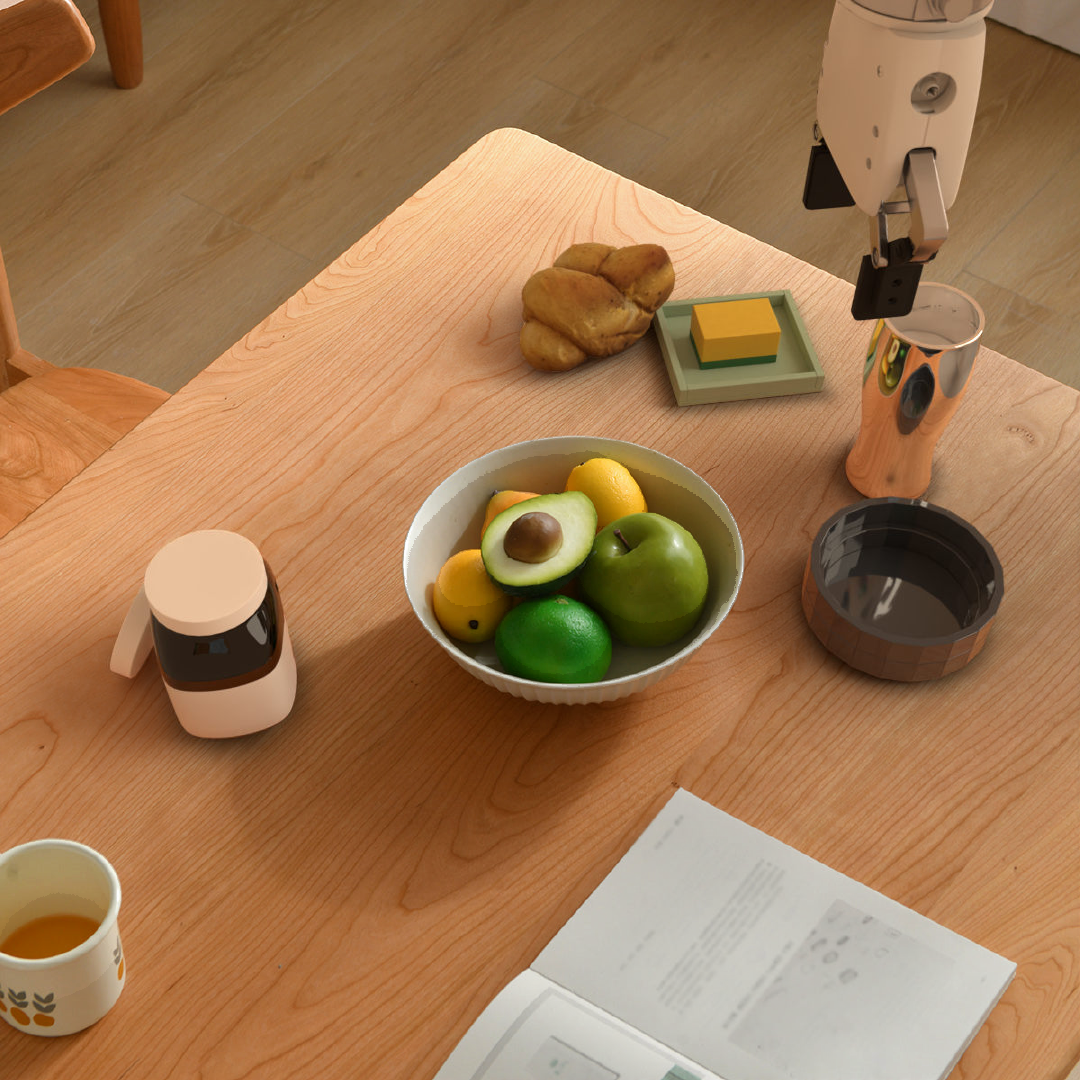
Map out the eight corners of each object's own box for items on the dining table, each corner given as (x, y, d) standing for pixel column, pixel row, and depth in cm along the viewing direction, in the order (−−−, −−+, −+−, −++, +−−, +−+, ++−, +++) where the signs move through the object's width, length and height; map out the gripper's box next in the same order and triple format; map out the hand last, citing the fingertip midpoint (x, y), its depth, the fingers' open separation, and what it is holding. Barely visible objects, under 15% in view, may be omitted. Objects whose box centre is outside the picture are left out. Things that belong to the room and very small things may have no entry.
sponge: (762, 328, 107) (768, 297, 105) (776, 362, 105) (781, 331, 102) (689, 336, 107) (692, 304, 104) (700, 370, 104) (704, 339, 102)
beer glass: (830, 495, 97) (869, 336, 85) (848, 429, 101) (887, 269, 89) (928, 519, 95) (981, 360, 84) (942, 451, 100) (994, 291, 88)
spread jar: (306, 744, 84) (278, 633, 75) (119, 776, 82) (68, 667, 73) (290, 592, 91) (262, 475, 82) (118, 620, 90) (72, 504, 81)
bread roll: (555, 403, 103) (556, 323, 97) (480, 335, 108) (476, 254, 102) (682, 333, 108) (691, 253, 102) (604, 272, 113) (608, 191, 107)
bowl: (949, 530, 95) (965, 487, 91) (1014, 674, 87) (1033, 632, 83) (780, 550, 94) (789, 507, 90) (829, 697, 86) (841, 656, 82)
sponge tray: (786, 305, 110) (789, 288, 109) (821, 391, 104) (825, 375, 102) (651, 318, 109) (652, 302, 108) (678, 407, 103) (680, 390, 101)
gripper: (1069, 55, 57) (971, 356, 71) (935, -128, 68) (872, 162, 82) (898, 69, 57) (831, 370, 70) (791, -118, 68) (750, 173, 81)
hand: (853, 258), depth 76 cm, fingers open, 9 cm apart
